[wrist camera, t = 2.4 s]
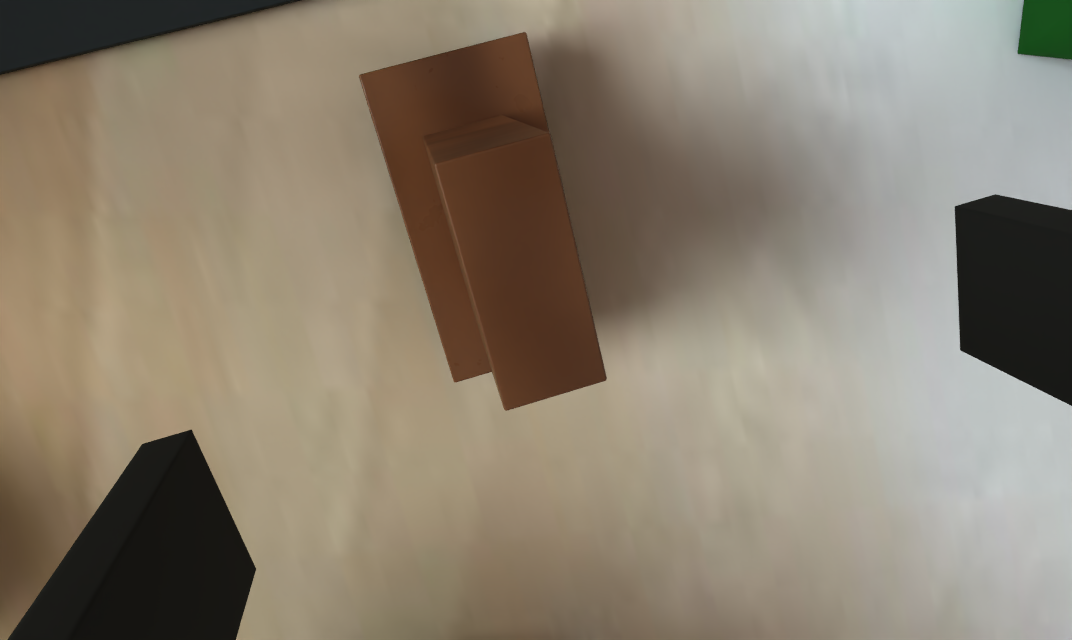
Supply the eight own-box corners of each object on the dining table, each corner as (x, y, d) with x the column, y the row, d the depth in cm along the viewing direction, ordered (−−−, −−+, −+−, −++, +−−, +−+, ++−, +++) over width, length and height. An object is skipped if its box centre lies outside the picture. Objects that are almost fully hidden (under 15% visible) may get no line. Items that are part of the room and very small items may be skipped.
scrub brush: (449, 355, 32) (476, 502, 21) (362, 74, 28) (339, 74, 17) (579, 316, 33) (673, 441, 22) (512, 36, 29) (586, 11, 18)
